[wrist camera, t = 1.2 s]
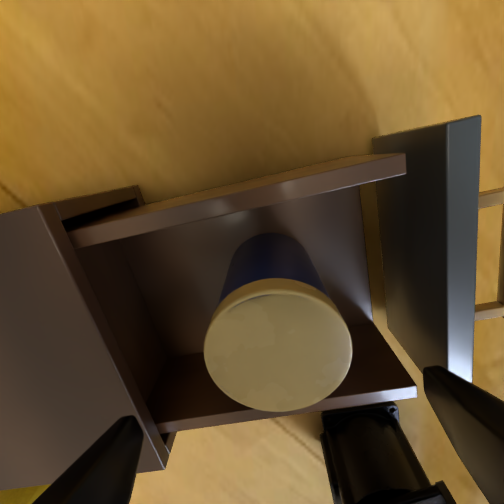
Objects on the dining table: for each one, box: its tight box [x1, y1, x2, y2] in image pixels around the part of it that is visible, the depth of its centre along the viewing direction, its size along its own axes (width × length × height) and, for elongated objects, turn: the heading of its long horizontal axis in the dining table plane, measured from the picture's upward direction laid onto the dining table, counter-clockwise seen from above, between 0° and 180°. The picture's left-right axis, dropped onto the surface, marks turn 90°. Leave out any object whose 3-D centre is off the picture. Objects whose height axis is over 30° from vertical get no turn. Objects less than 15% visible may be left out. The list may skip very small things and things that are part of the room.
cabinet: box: [0, 185, 177, 491], centre depth 17 cm, size 20×15×9 cm
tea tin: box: [204, 233, 353, 412], centre depth 14 cm, size 6×6×8 cm
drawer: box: [64, 115, 504, 434], centre depth 15 cm, size 23×13×7 cm, turn 103°
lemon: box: [0, 484, 51, 504], centre depth 23 cm, size 6×6×8 cm
